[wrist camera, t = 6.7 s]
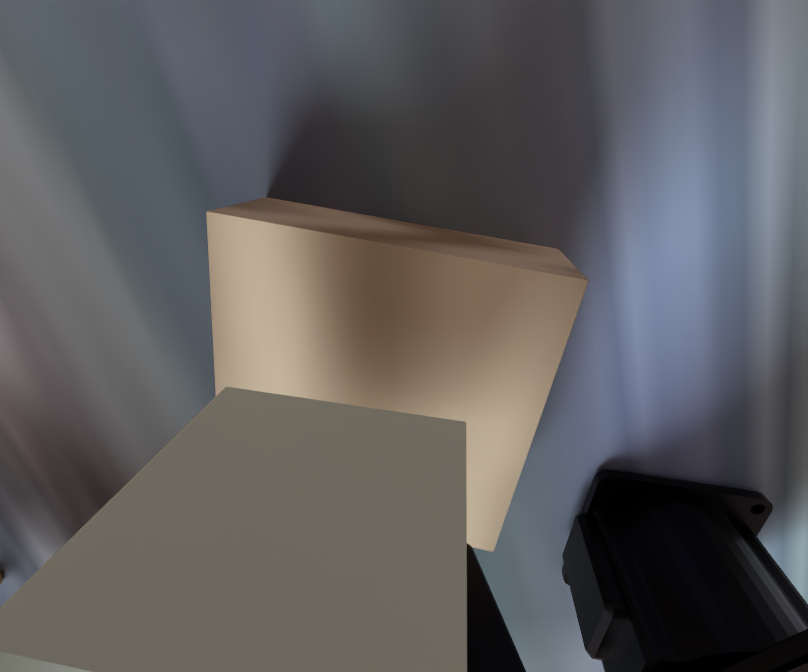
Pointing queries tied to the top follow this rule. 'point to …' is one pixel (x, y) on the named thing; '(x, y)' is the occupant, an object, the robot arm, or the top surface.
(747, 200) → the top surface
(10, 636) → the sage cube
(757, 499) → the robot arm
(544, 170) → the top surface
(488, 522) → the maple block
